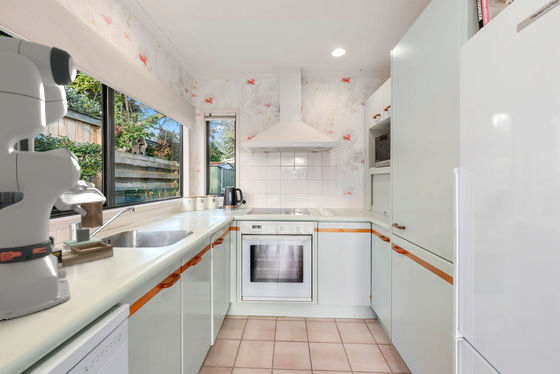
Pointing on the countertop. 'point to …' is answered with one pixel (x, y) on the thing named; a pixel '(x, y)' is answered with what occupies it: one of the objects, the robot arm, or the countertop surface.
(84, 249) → the puzzle board
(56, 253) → the medicine bottle
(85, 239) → the cover
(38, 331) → the countertop surface
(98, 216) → the block
